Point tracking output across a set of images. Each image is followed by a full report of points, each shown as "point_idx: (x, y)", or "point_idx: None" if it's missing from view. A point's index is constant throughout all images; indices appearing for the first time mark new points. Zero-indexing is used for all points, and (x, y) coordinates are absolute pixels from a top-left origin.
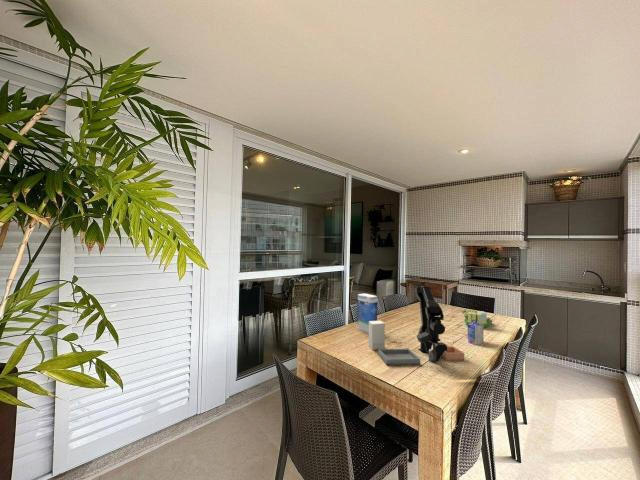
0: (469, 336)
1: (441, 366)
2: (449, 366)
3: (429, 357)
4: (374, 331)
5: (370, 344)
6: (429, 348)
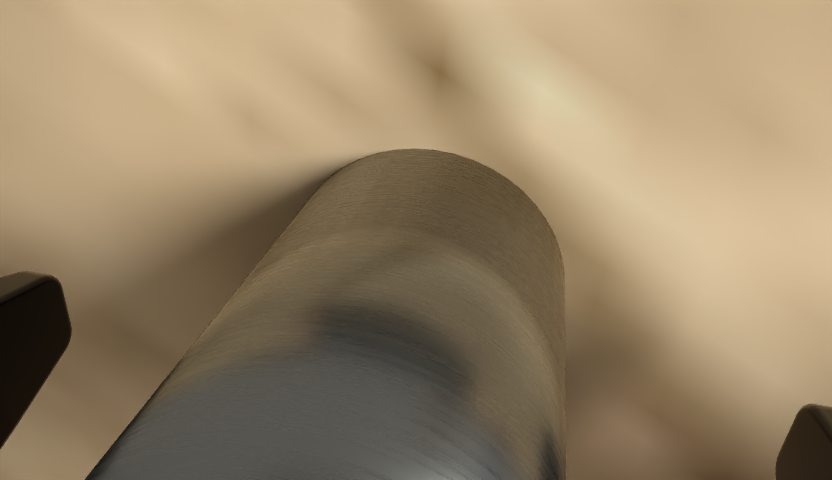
0: None
1: None
2: (71, 458)
3: (371, 218)
4: None
5: None
6: None
